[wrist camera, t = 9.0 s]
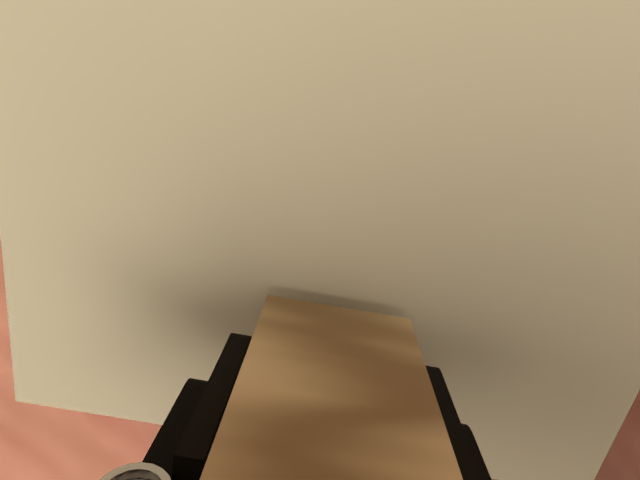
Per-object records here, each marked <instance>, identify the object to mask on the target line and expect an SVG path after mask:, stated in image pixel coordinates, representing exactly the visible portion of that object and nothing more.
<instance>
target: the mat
mask: <svg viewBox="0 0 640 480" xmlns="http://www.w3.org/2000/svg"><path fill="white" fill-rule="evenodd" d="M0 235H1V246H2V257H3V268H4V279H5V290H6V301H7V311H8V322H9V333H10V344H11V355H12V366H13V376H14V387H15V398H16V401H19V402H25V403H31V404H37V405H43V406H49V407H55V408H62V409H68V410H74V411H80V412H86V413H92V414H98V415H104V416H111V417H117V418H123V419H129V420H135V421H141V422H147V423H153V424H159V425H163V423H164V421H165V419H166V418H167V416H168V414H169V412H170V410H171V408H172V407H173V405H174V403H175V401H176V399H177V397H178V396H179V394H180V392H181V390H182V388H183V386H184V385H185V383H186V381H187V380H188V379H189V378H193V379H199V380H205V381H208V380H209V378H210V376H211V374H212V372H213V370H214V367H215V365H216V363H217V361H218V359H219V357H220V355H221V353H222V350H223V348H224V346H225V344H226V342H227V340H228V338H229V335H230V334H231V333H237V334H243V335H248V336H253V333H254V331H255V328H256V325H257V322H258V320H259V317H260V314H261V312H262V309H263V306H264V303H265V301H266V298H267V295H273V296H279V297H285V298H291V299H296V300H302V301H308V302H314V303H320V304H326V305H332V306H338V307H344V308H350V309H356V310H361V311H367V312H373V313H379V314H385V315H391V316H397V317H403V318H409V319H410V320H411V323H412V326H413V329H414V333H415V336H416V339H417V342H418V345H419V348H420V351H421V354H422V357H423V360H424V363H425V365H426V366H432V367H438V368H440V370H441V372H442V375H443V377H444V380H445V383H446V385H447V388H448V390H449V393H450V396H451V398H452V401H453V404H454V406H455V409H456V411H457V414H458V417H459V419H460V422H461V423H462V424H467V425H468V426H469V427H470V429H471V431H472V433H473V435H474V437H475V440H476V442H477V445H478V447H479V450H480V452H481V455H482V457H483V460H484V462H485V465H486V467H487V469H488V472H489V474H490V477H491V479H496V480H594V479H595V477H596V475H597V473H598V471H599V469H600V467H601V465H602V463H603V461H604V459H605V457H606V455H607V453H608V451H609V449H610V447H611V445H612V443H613V442H614V440H615V438H616V436H617V434H618V432H619V430H620V428H621V426H622V424H623V422H624V420H625V418H626V416H627V414H628V412H629V410H630V408H631V406H632V404H633V402H634V400H635V398H636V396H637V394H638V392H639V391H640V0H0Z"/></svg>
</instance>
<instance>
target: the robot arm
mask: <svg viewBox="0 0 640 480" xmlns="http://www.w3.org/2000/svg"><path fill="white" fill-rule="evenodd" d="M251 339H252V336H248V335H243V334H237V333H231V334H230V335H229V338H228V340H227V342H226V344H225V346H224V348H223V350H222V353H221V355H220V357H219V359H218V361H217V363H216V365H215V367H214V370H213V372H212V374H211V376H210V378H209V380H208V381H205V380H199V379H193V378H189V379H188V380H187V381H186V383H185V385H184V386H183V388H182V390H181V392H180V394H179V396H178V397H177V399H176V401H175V403H174V405H173V407H172V408H171V410H170V412H169V414H168V416H167V418H166V419H165V421H164V423H163V425H162V427H161V428H160V430H159V432H158V434H157V436H156V438H155V439H154V441H153V443H152V445H151V447H150V449H149V450H148V452H147V454H146V456H145V458H144V460H143V461H142V462H139V463H131V464H127V465H124V466H121V467H118V468H116V469H114V470H112V471H111V472H109V473H107V474H106V475H104V476H103V477H102V478H101V479H100V480H200V477H201V474H202V472H203V469H204V466H205V463H206V461H207V458H208V455H209V453H210V450H211V447H212V444H213V442H214V439H215V436H216V434H217V431H218V428H219V425H220V423H221V420H222V417H223V415H224V412H225V409H226V406H227V404H228V401H229V398H230V396H231V393H232V390H233V388H234V385H235V382H236V379H237V377H238V374H239V371H240V369H241V366H242V363H243V360H244V358H245V355H246V352H247V350H248V347H249V344H250V341H251ZM425 366H426V365H425ZM426 369H427V372H428V375H429V378H430V381H431V384H432V387H433V390H434V393H435V396H436V399H437V402H438V405H439V408H440V411H441V414H442V417H443V420H444V423H445V426H446V429H447V432H448V435H449V438H450V441H451V445H452V448H453V451H454V454H455V457H456V460H457V463H458V466H459V469H460V472H461V475H462V478H463V480H492V479H491V477H490V474H489V472H488V469H487V467H486V465H485V462H484V460H483V457H482V455H481V452H480V450H479V447H478V445H477V442H476V440H475V437H474V435H473V433H472V431H471V429H470V427H469V426H468V425H467V424H462V423H461V422H460V419H459V417H458V414H457V411H456V409H455V406H454V404H453V401H452V398H451V396H450V393H449V390H448V388H447V385H446V383H445V380H444V377H443V375H442V372H441V370H440V368H438V367H432V366H426Z"/></svg>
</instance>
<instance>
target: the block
mask: <svg viewBox="0 0 640 480" xmlns="http://www.w3.org/2000/svg"><path fill="white" fill-rule="evenodd" d="M200 480H463V478H462V475H461V472H460V469H459V466H458V463H457V460H456V457H455V454H454V451H453V448H452V445H451V441H450V438H449V435H448V432H447V429H446V426H445V423H444V420H443V417H442V414H441V411H440V408H439V405H438V402H437V399H436V396H435V393H434V390H433V387H432V384H431V381H430V378H429V375H428V372H427V369H426V366H425V363H424V360H423V357H422V354H421V351H420V348H419V345H418V342H417V339H416V336H415V333H414V329H413V326H412V323H411V320H410V319H409V318H403V317H397V316H391V315H385V314H379V313H373V312H367V311H361V310H356V309H350V308H344V307H338V306H332V305H326V304H320V303H314V302H308V301H302V300H296V299H291V298H285V297H279V296H273V295H267V298H266V301H265V303H264V306H263V309H262V312H261V314H260V317H259V320H258V322H257V325H256V328H255V331H254V333H253V336H252V339H251V341H250V344H249V347H248V350H247V352H246V355H245V358H244V360H243V363H242V366H241V369H240V371H239V374H238V377H237V379H236V382H235V385H234V388H233V390H232V393H231V396H230V398H229V401H228V404H227V406H226V409H225V412H224V415H223V417H222V420H221V423H220V425H219V428H218V431H217V434H216V436H215V439H214V442H213V444H212V447H211V450H210V453H209V455H208V458H207V461H206V463H205V466H204V469H203V472H202V474H201V477H200Z"/></svg>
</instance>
